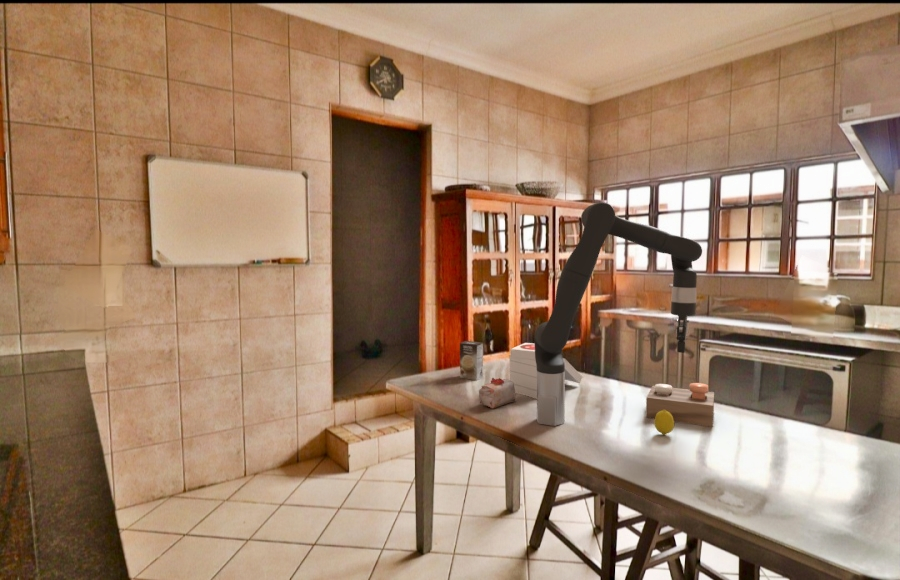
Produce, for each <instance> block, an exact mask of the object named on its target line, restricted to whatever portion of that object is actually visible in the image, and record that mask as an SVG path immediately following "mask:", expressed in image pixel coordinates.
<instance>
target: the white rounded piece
mask: <svg viewBox="0 0 900 580" xmlns="http://www.w3.org/2000/svg"><path fill="white" fill-rule="evenodd" d="M654 386H655V392H657V394H661V395H669V396H670V394H671V393H672V388H673V386H672V385H671V384H666V383H656V384H654Z"/></svg>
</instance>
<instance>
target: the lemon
mask: <svg viewBox="0 0 900 580" xmlns="http://www.w3.org/2000/svg"><path fill="white" fill-rule="evenodd" d="M674 426H675V422H674V419H673V416H672V415H671V414H670V413H669V412H668V411H666V410H663V411H659V412H658V413H657V414H656V416H655V419H654V428H655V429H656V430H657V431H658V432H659V433H661V434H662V435H663V436H667V434H670V433H671V432H672V431H673V429H674V428H675V427H674Z"/></svg>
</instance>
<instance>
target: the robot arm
mask: <svg viewBox="0 0 900 580" xmlns="http://www.w3.org/2000/svg"><path fill="white" fill-rule="evenodd" d="M580 220H581V221H580V222H581V223H582V224H581V225H583V227H584V228H583V231H582V233H581V237H580V239H579V241H578V243H577V245H576V246H575V247H574V249H573V251H572V252H571V254H570V255H569V257H568V259H567V260H566V262H565V264H564V266H563V268H562V270H561V273H560V275H559V279H558V281H557V286H556V291H555V298H554V306H553V309H552V312H551V314H550V316H549V318H548V321H545V322H542V323H540V324H539V325H538V326H537V327H536V330H535V333H534V344H535V360H536V366H537V399H536V421H537V424H540V425H546V426H551V427H557V426H559V425H562V424H564V423H565V422H566V420H565V418H566V417H565V414H566V408H565V407H566V405H565V401H566V399H565V396H566V395H565V394H566V392H565V391H566V388H565V386H566V384H565V382H566V380H565V364H564V361H563V358H564V357H563V349H564V348H565V346H566V345H567V343H568V340H569V336H570V333H571V329H572V325H573V323H574V320H575V319H574V318H575V316H576V314H577V311H578V308H579V307H580V304H581V302H582V299H583V297H584V295H585V292H586V290H587V287H588V286H589V282H590V280H591V277H592V275H593V272H594V269H595V267H596V264H597V261H598V259H599V255H600V252H601V249H602V247H603V245H604V242H605V241H606V239H607V237H608V235H609V236H613V237H617V238H620V239H623V240H626V241H629V242H631V243H633V244H636V245H638V246H641V247H644V248H646V249H649V250H652V251H655V252H656V253H657V252H658V253H661V254H667V255H670V261H671V266H672V267H671V268H672V272H673V277H672V278H673V279H672V289H671V300H670V301H671V302H670V314H671V315H673V316H678V318H677V319H676V320H675V328H676V329H675V334H676V341H677V348H676V349H677V350H676V351H677V353H680V354H682V353H685V350H686V342H687V337H688V336H687V335H688V333H689V326H690V320H688V317H693V316H696V312H697V294H698V293H697V283H698V282H697V279H698V278H697V277H698V276H697V274H698V273H697V271H696V270H695V269H693V262H695V261H696V262H697V261H698V260H699V259H700V258H701V257H702V254H703V248H702V245H701V244H700V243H699V242H698V241H695V240H694V239H690V238H688V237H684V236H679V235H676V234H672V233H670V232H668V231H666V230H663V229H660V228H657V227H655V226H652V225H648V224H644V223H640V222H635V221H631V220H628V219H624V218H623V217H619V216H617V215H616V211H615V209H614V207H613V206H612V204H610V203H608V202H603V201H601V202H595V203H593V204H591V205H588V206H587V207H586V208H584V210H583V211H582V213H581V217H580Z"/></svg>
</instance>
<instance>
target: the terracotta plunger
mask: <svg viewBox="0 0 900 580" xmlns="http://www.w3.org/2000/svg"><path fill="white" fill-rule="evenodd" d="M689 390H690V391H691V392H692V398H695V399H704V400H705V393H708V392H709V385H708V384H706V383H703V382H702V383H701V382H693V383H692V382H691V383H689Z"/></svg>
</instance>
